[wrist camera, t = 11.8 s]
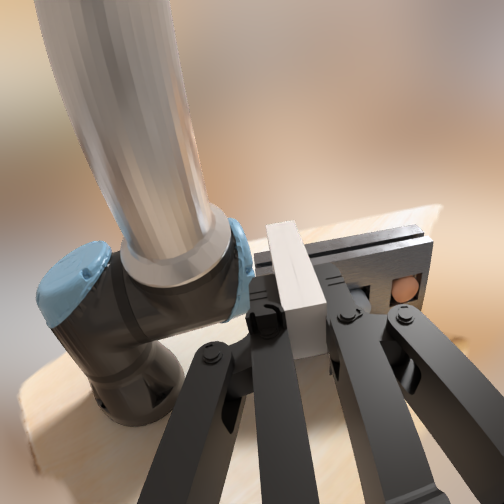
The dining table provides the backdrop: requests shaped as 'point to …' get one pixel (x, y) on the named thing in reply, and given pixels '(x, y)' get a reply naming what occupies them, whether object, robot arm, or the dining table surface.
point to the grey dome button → (361, 299)
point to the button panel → (372, 263)
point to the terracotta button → (404, 288)
